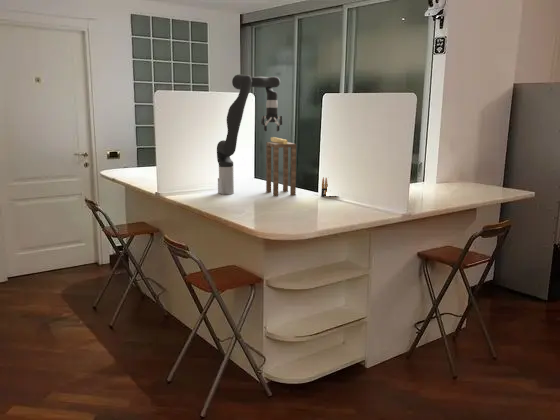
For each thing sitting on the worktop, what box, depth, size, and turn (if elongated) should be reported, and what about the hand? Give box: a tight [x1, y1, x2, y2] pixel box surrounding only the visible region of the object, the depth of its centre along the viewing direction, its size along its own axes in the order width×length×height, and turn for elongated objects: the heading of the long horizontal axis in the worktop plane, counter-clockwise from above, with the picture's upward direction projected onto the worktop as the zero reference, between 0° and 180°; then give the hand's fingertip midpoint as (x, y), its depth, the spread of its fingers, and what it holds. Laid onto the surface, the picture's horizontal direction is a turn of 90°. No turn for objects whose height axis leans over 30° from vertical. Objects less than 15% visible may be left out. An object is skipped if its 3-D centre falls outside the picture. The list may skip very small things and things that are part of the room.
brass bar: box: [270, 136, 288, 144], centre depth 328 cm, size 24×2×2 cm, turn 20°
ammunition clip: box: [320, 177, 328, 198], centre depth 322 cm, size 11×2×12 cm, turn 80°
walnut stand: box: [265, 141, 297, 197], centre depth 328 cm, size 16×14×32 cm
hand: (271, 131), depth 354 cm, fingers open, 8 cm apart
